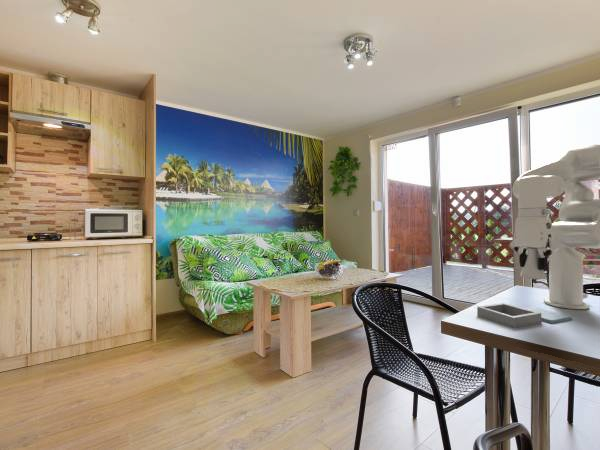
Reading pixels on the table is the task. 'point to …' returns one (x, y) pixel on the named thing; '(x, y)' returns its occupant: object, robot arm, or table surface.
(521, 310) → the grey square tray
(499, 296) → the table surface
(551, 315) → the board
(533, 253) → the flask
